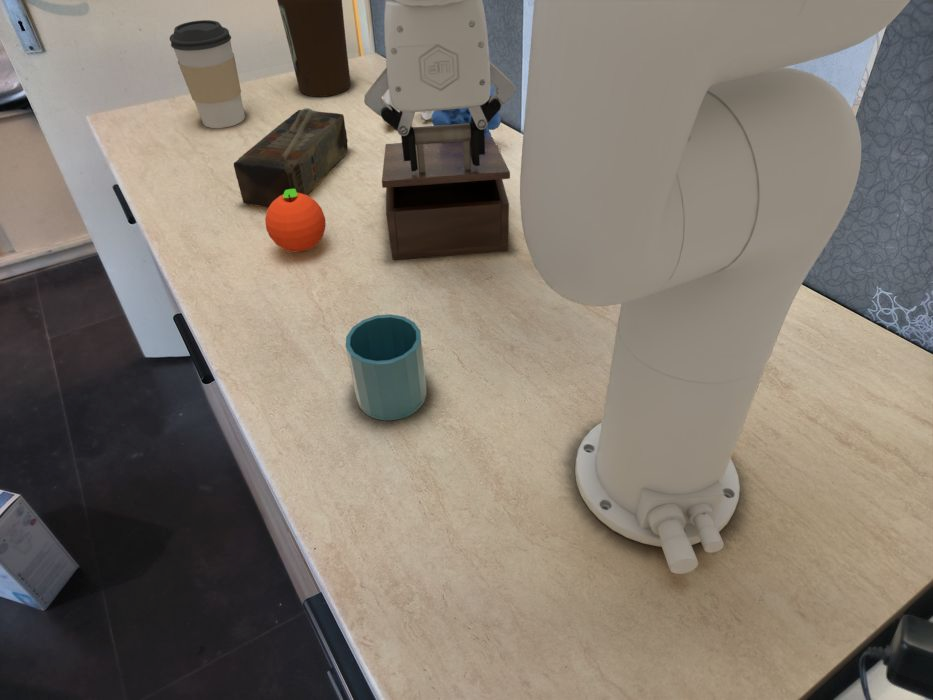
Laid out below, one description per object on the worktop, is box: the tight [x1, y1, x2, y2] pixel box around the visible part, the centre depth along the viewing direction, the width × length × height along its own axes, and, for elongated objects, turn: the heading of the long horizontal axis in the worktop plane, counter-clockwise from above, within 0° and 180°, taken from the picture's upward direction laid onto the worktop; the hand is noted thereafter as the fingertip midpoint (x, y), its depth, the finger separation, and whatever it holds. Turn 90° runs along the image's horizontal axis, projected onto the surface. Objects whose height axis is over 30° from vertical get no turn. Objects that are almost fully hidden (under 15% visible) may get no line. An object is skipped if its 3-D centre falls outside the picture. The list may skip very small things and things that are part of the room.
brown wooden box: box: [385, 179, 510, 261], centre depth 81 cm, size 16×14×6 cm
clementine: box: [264, 189, 327, 253], centre depth 77 cm, size 8×7×7 cm
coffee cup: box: [169, 19, 246, 129], centre depth 104 cm, size 9×9×15 cm
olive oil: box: [276, 0, 351, 97], centre depth 111 cm, size 11×11×25 cm
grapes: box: [430, 88, 502, 137], centre depth 92 cm, size 12×7×12 cm, turn 125°
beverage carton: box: [233, 107, 349, 208], centre depth 91 cm, size 8×19×7 cm, turn 165°
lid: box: [381, 123, 511, 189], centre depth 76 cm, size 17×14×6 cm
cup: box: [345, 313, 428, 422], centre depth 58 cm, size 6×6×7 cm
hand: (444, 161), depth 72 cm, fingers closed on lid, 6 cm apart
